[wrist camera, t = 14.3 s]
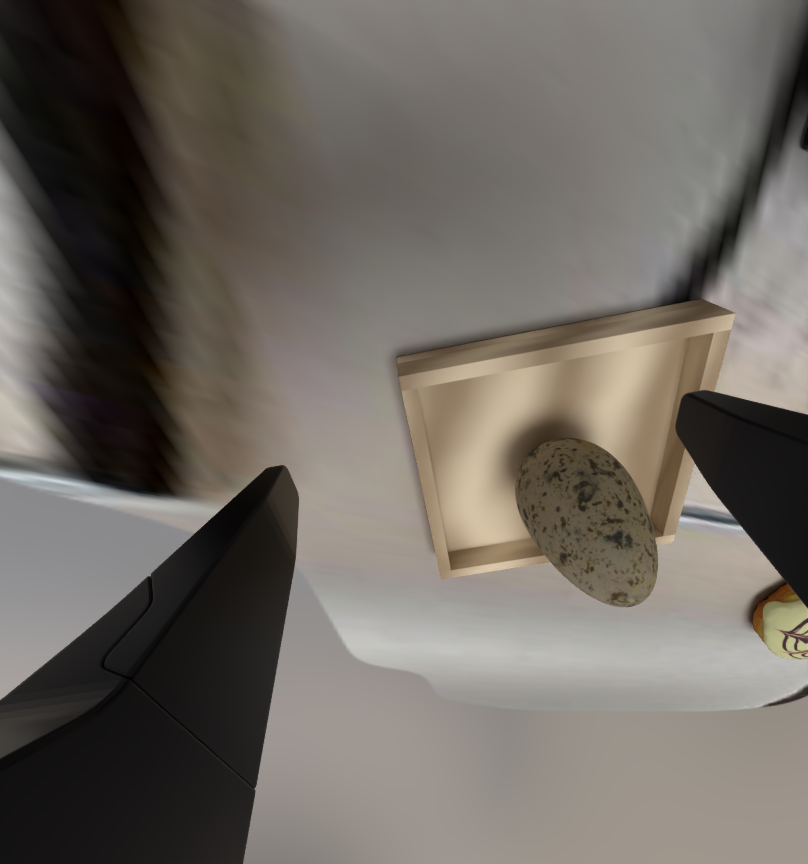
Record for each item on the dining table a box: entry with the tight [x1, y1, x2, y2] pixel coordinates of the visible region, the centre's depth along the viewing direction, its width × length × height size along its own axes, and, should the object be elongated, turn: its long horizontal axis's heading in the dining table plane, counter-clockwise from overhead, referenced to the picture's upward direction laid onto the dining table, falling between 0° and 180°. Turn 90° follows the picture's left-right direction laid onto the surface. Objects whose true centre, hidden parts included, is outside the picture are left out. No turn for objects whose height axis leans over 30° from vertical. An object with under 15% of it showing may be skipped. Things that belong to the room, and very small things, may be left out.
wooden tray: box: [397, 299, 736, 579], centre depth 25 cm, size 16×16×2 cm
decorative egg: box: [515, 438, 658, 607], centre depth 21 cm, size 6×6×10 cm
